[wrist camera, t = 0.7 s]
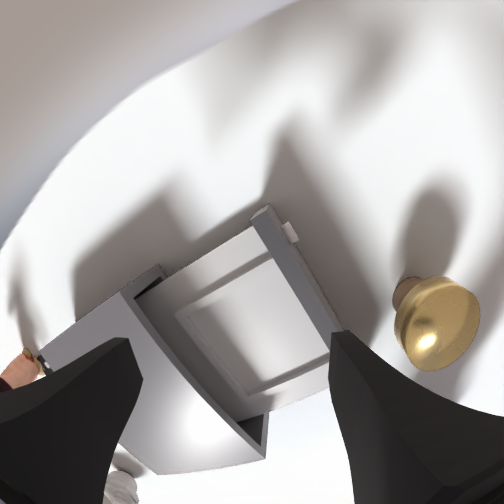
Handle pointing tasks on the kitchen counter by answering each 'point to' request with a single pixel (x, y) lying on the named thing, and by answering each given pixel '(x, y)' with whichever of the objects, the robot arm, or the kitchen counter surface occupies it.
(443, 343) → the disc
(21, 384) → the grandmother figurine
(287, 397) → the tray
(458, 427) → the robot arm
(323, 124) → the kitchen counter surface
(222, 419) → the housing
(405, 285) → the brown domed cylinder
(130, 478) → the grey rounded lumpy piece
